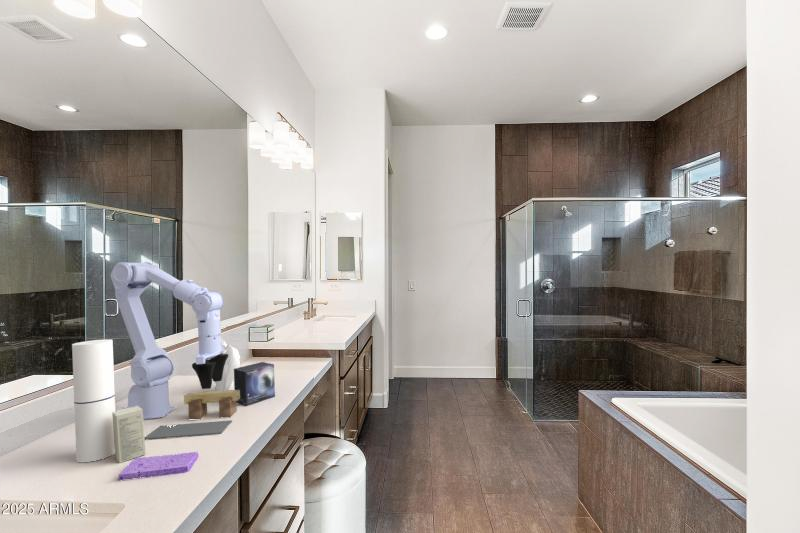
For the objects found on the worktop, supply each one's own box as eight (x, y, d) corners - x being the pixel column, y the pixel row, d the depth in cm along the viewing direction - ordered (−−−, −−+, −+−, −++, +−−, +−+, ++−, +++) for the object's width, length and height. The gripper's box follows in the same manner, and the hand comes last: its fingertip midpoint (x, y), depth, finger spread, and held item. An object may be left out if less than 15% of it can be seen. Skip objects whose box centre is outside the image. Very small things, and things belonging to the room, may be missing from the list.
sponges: (135, 466, 84) (134, 457, 84) (199, 458, 86) (199, 449, 86) (117, 484, 77) (117, 474, 77) (188, 474, 79) (188, 465, 79)
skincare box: (141, 449, 91) (139, 404, 91) (146, 455, 88) (144, 408, 88) (113, 457, 87) (111, 411, 87) (117, 464, 84) (115, 415, 84)
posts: (188, 420, 108) (188, 401, 108) (196, 414, 113) (195, 396, 113) (230, 417, 109) (230, 398, 109) (236, 411, 114) (235, 393, 114)
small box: (246, 406, 118) (244, 371, 118) (233, 403, 121) (232, 368, 122) (276, 396, 126) (274, 363, 126) (263, 393, 130) (262, 361, 130)
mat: (143, 439, 96) (143, 438, 96) (160, 427, 104) (160, 425, 104) (220, 433, 98) (220, 432, 98) (231, 421, 106) (231, 420, 106)
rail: (184, 404, 109) (183, 395, 109) (188, 401, 112) (188, 393, 112) (237, 400, 110) (236, 392, 110) (240, 397, 113) (239, 389, 113)
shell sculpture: (232, 394, 130) (230, 339, 131) (207, 396, 131) (204, 340, 131) (242, 387, 139) (240, 335, 139) (219, 388, 139) (216, 336, 139)
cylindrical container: (84, 465, 84) (80, 345, 84) (70, 458, 88) (66, 344, 88) (123, 451, 90) (118, 340, 90) (108, 445, 94) (104, 338, 94)
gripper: (214, 338, 104) (217, 391, 104) (233, 330, 119) (235, 376, 119) (186, 340, 104) (189, 393, 104) (208, 332, 118) (211, 378, 118)
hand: (212, 384), depth 111 cm, fingers open, 7 cm apart
